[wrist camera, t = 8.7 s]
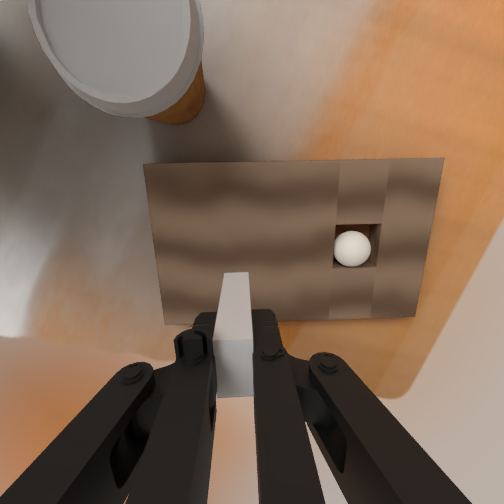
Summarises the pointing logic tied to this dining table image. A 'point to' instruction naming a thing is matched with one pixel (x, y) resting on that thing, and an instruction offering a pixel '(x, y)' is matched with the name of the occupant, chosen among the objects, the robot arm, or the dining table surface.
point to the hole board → (292, 234)
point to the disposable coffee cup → (127, 54)
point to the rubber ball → (351, 248)
